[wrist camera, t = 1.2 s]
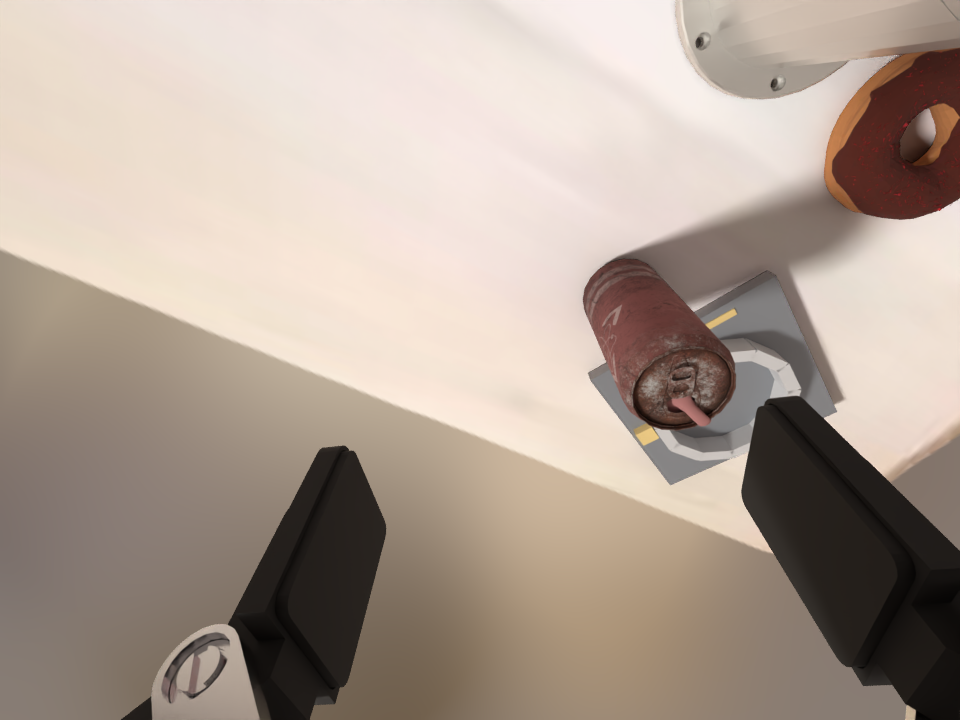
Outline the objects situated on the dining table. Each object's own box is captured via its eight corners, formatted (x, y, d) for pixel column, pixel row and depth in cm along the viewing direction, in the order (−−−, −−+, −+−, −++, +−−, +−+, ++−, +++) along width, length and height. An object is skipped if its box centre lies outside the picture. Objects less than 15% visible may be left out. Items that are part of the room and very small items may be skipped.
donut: (793, 122, 29) (833, 125, 25) (965, 2, 25) (1038, -13, 22) (840, 241, 33) (880, 257, 29) (995, 150, 29) (1060, 157, 26)
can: (618, 341, 37) (676, 455, 25) (566, 297, 35) (602, 397, 23) (676, 291, 35) (771, 391, 23) (623, 240, 33) (696, 320, 21)
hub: (767, 270, 34) (791, 285, 31) (828, 403, 40) (852, 426, 37) (588, 373, 39) (594, 393, 36) (666, 476, 45) (677, 500, 43)
